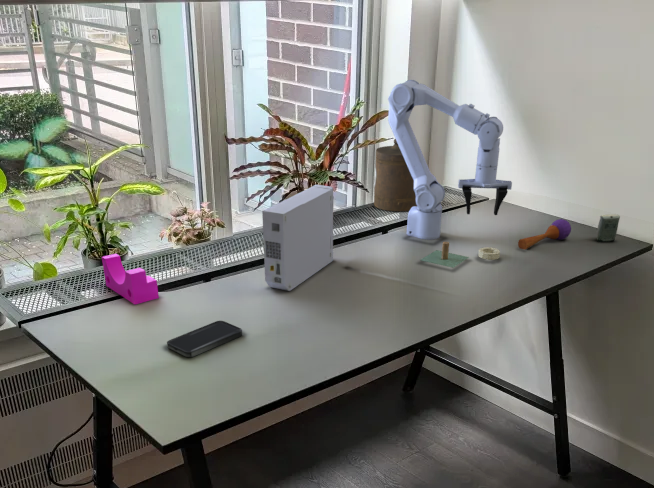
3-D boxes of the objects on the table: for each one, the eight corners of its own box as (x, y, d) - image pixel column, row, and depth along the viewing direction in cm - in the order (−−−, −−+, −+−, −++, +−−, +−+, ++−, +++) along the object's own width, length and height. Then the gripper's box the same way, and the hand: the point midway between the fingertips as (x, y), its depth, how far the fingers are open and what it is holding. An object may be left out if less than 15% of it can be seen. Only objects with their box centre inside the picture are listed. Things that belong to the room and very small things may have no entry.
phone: (244, 329, 157) (188, 353, 147) (244, 334, 157) (189, 358, 147) (220, 319, 161) (164, 341, 151) (220, 324, 162) (164, 346, 152)
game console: (335, 260, 199) (335, 187, 189) (286, 294, 177) (284, 214, 167) (316, 257, 201) (315, 184, 191) (265, 290, 179) (262, 210, 169)
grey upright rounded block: (606, 245, 214) (611, 218, 210) (591, 240, 217) (596, 214, 213) (617, 241, 217) (622, 214, 213) (602, 236, 220) (607, 210, 216)
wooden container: (394, 197, 255) (397, 131, 244) (426, 206, 246) (431, 138, 235) (364, 205, 246) (366, 137, 235) (397, 214, 237) (400, 144, 226)
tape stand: (419, 263, 198) (420, 244, 195) (436, 253, 205) (437, 234, 202) (452, 271, 193) (454, 251, 190) (468, 260, 200) (470, 241, 198)
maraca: (513, 233, 209) (558, 216, 219) (515, 253, 211) (559, 235, 221) (530, 235, 204) (574, 217, 214) (531, 255, 207) (575, 237, 217)
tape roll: (474, 260, 201) (475, 251, 199) (483, 254, 205) (484, 246, 204) (493, 264, 198) (494, 255, 197) (501, 258, 202) (502, 249, 201)
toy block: (158, 298, 174) (155, 268, 171) (134, 304, 171) (130, 274, 167) (129, 279, 184) (125, 251, 180) (106, 285, 180) (101, 256, 177)
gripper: (461, 167, 197) (457, 217, 203) (515, 169, 196) (509, 218, 203) (459, 161, 203) (455, 209, 210) (512, 163, 202) (506, 211, 209)
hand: (481, 213), depth 207 cm, fingers open, 7 cm apart
